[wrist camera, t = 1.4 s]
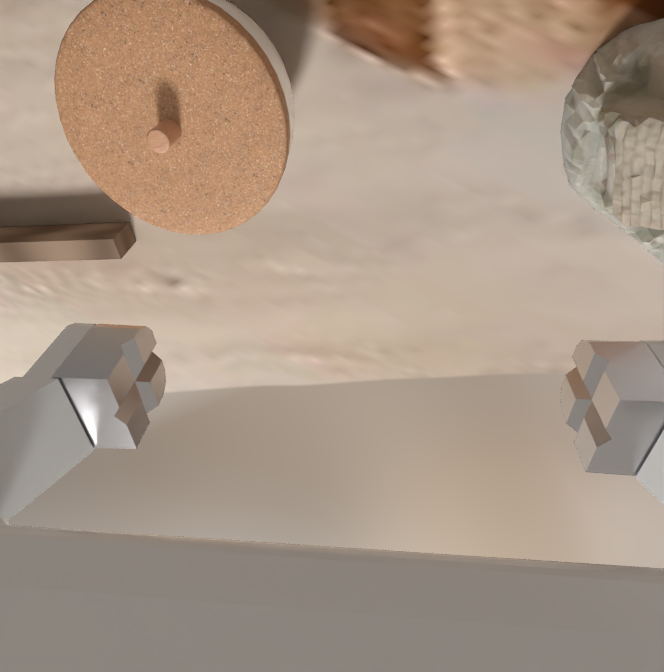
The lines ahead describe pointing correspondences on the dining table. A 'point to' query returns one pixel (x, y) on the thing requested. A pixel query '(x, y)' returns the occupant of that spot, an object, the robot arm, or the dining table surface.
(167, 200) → the lidded jar
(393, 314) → the dining table surface
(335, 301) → the dining table surface
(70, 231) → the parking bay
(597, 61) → the ceramic cottage
